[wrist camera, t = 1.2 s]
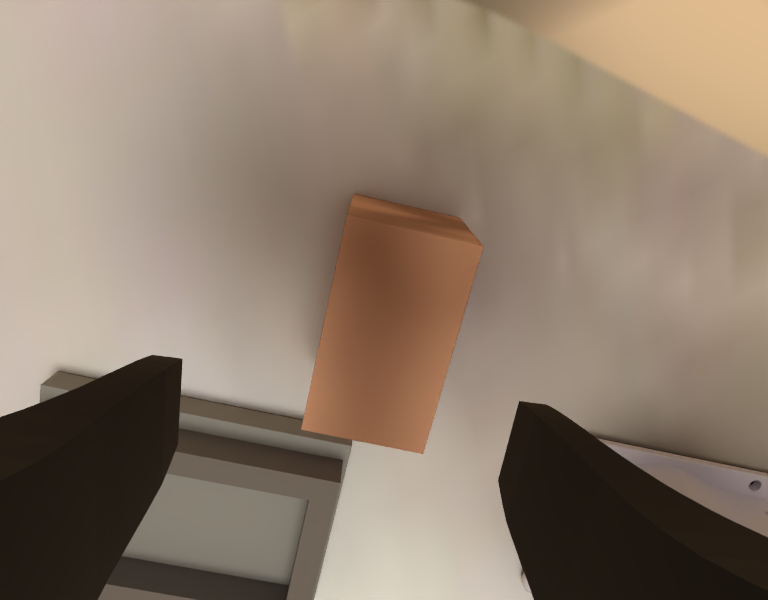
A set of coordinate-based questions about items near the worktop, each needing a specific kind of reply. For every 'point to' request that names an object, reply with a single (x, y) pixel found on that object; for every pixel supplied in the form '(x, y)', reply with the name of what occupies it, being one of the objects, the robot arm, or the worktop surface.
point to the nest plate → (232, 508)
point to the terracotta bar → (390, 323)
